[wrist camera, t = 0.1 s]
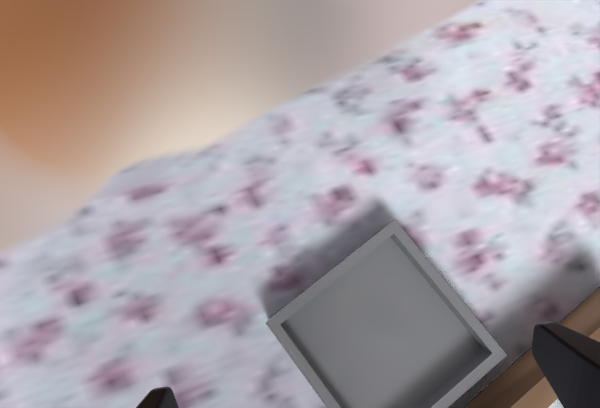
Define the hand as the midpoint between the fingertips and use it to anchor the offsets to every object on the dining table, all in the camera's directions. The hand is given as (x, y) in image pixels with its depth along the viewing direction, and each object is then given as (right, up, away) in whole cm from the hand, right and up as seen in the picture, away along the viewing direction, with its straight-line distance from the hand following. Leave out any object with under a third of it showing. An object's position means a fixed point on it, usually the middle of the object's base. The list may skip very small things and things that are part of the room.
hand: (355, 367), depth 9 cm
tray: (+4, -4, +14) cm, 15 cm away
